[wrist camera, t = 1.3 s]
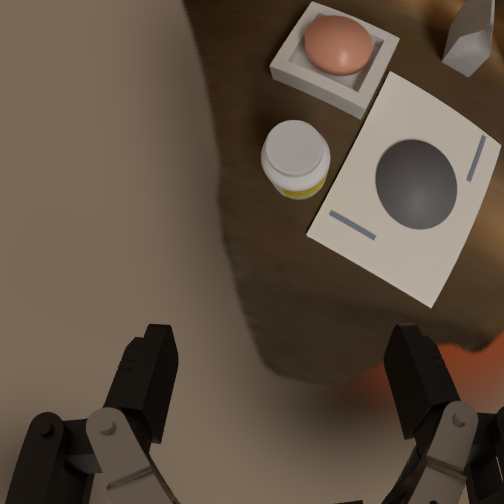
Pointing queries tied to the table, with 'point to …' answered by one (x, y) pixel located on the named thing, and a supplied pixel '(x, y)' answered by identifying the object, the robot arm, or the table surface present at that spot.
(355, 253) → the white flat board
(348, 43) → the button
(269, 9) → the table surface
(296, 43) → the white square tray
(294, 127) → the supplement bottle
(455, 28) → the white carton
